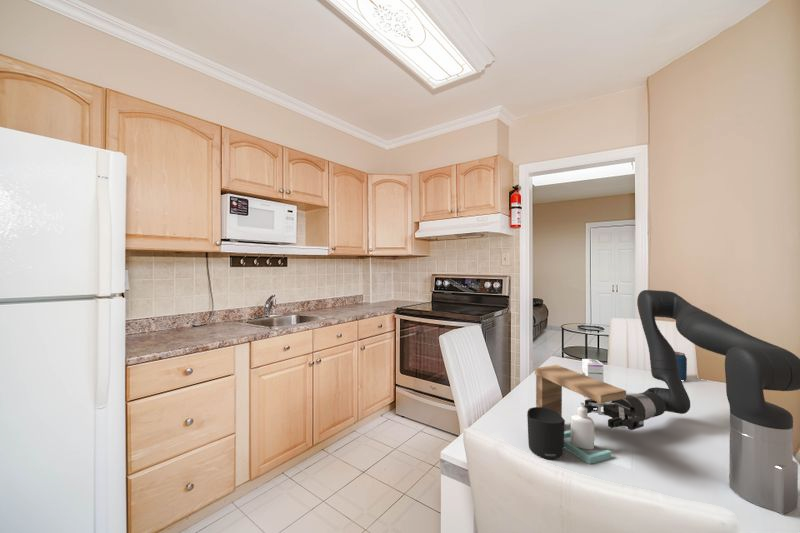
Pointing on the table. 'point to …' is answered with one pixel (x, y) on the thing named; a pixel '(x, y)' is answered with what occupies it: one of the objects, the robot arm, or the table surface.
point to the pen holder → (545, 432)
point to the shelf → (570, 387)
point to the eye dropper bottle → (582, 429)
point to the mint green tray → (586, 451)
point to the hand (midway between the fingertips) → (594, 416)
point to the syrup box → (592, 369)
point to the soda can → (682, 365)
